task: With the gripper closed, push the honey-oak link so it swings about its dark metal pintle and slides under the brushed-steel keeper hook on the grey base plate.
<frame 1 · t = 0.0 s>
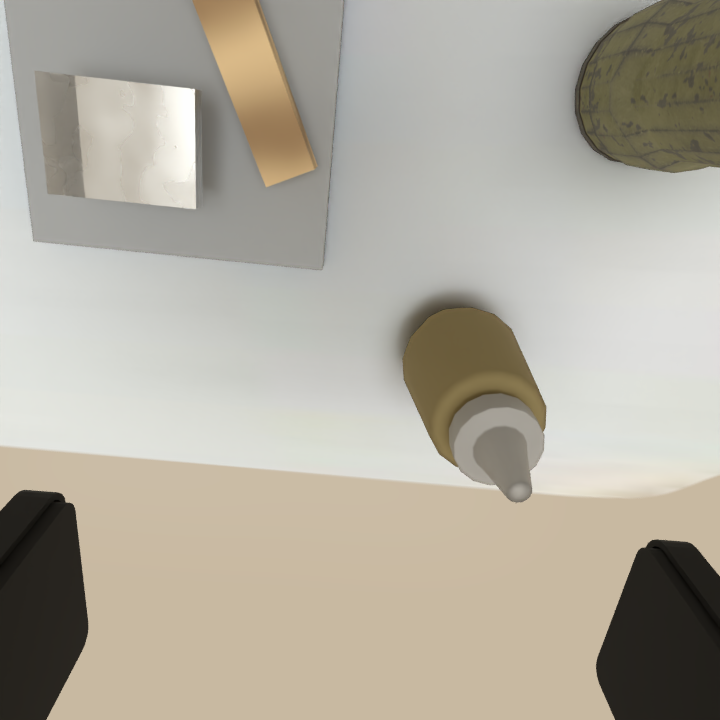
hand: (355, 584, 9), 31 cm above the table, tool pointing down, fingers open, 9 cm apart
keeper: (152, 140, 34), resting on base plate
olive green pillar: (641, 91, 35), on the table
squeeze bottle: (452, 343, 41), on the table
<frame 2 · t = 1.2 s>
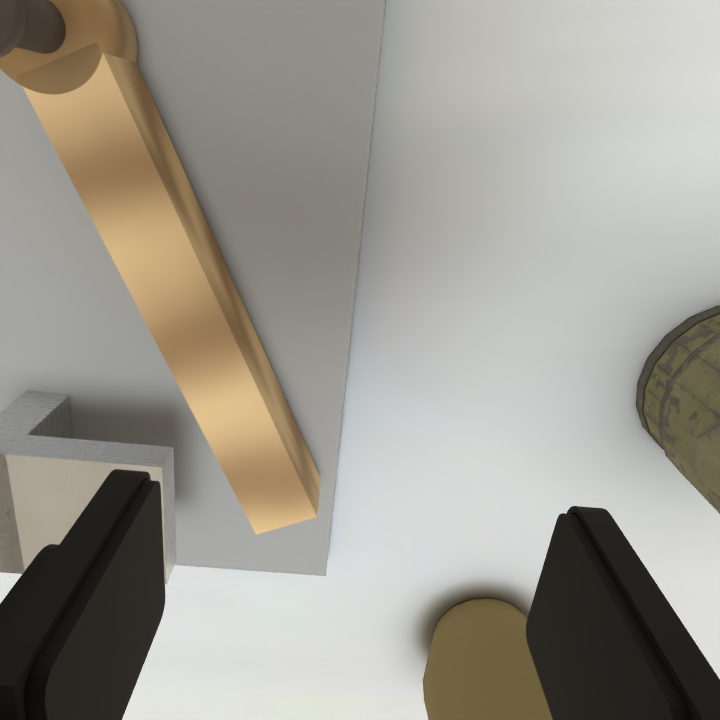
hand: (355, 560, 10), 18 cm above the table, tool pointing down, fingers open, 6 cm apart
keeper: (116, 451, 28), resting on base plate
olive green pillar: (717, 382, 28), on the table
base plate: (150, 291, 26), on the table
oak link: (169, 300, 21), point 5 cm above the table, hinge at 25.0°
squeeze bottle: (479, 628, 35), on the table
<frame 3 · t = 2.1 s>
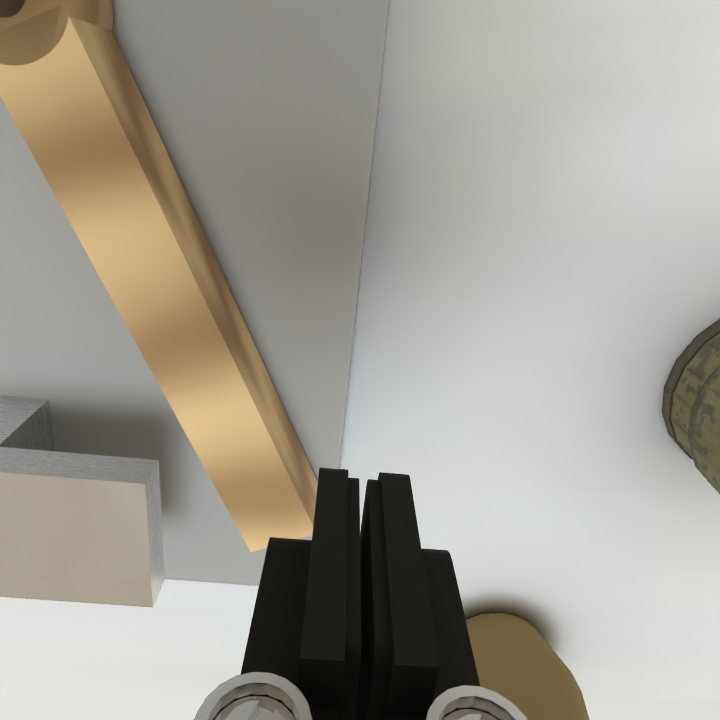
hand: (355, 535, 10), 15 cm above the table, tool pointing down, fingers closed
keeper: (100, 460, 26), resting on base plate
base plate: (135, 287, 24), on the table
oak link: (150, 300, 19), point 5 cm above the table, hinge at 25.0°
squeeze bottle: (488, 642, 33), on the table
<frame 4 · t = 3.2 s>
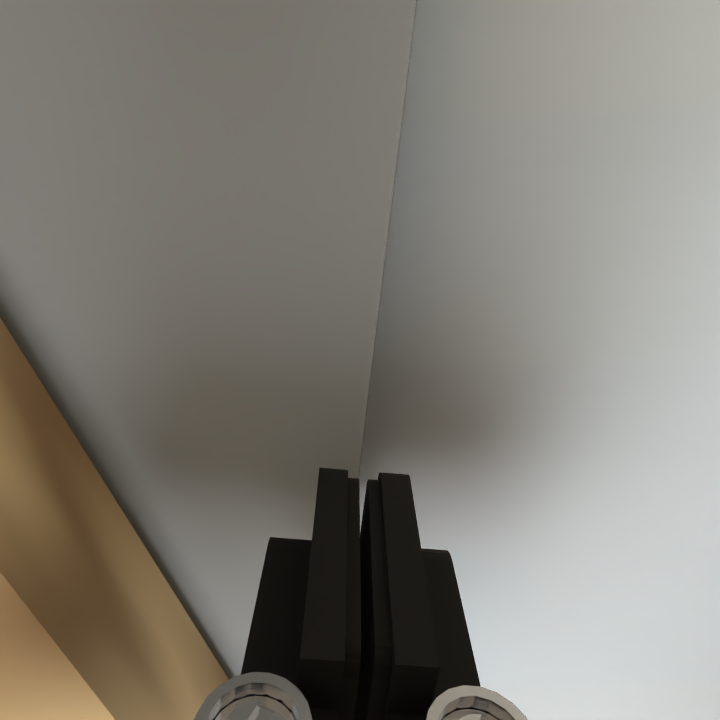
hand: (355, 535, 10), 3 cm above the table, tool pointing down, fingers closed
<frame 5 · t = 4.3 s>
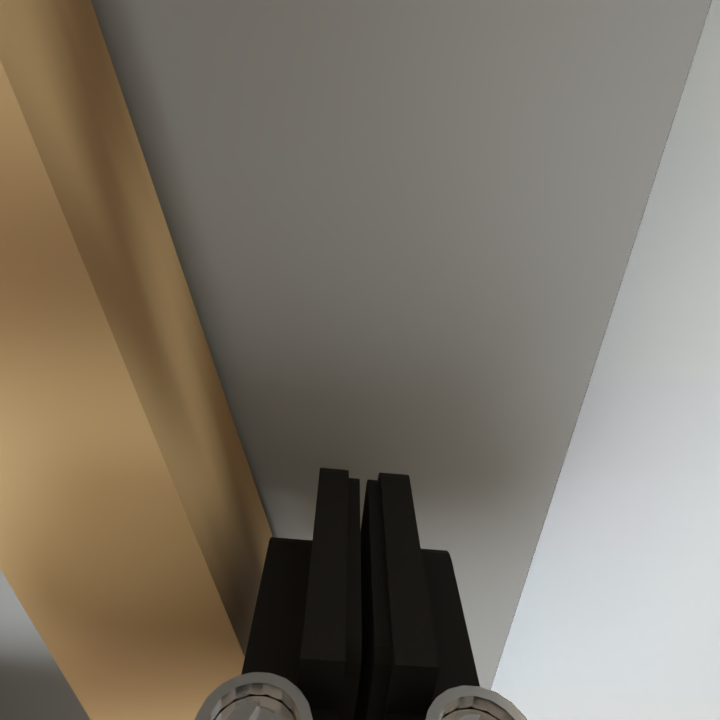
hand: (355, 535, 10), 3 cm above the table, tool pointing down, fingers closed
base plate: (125, 450, 13), on the table
oak link: (93, 608, 8), point 5 cm above the table, hinge at 19.0°, touching gripper
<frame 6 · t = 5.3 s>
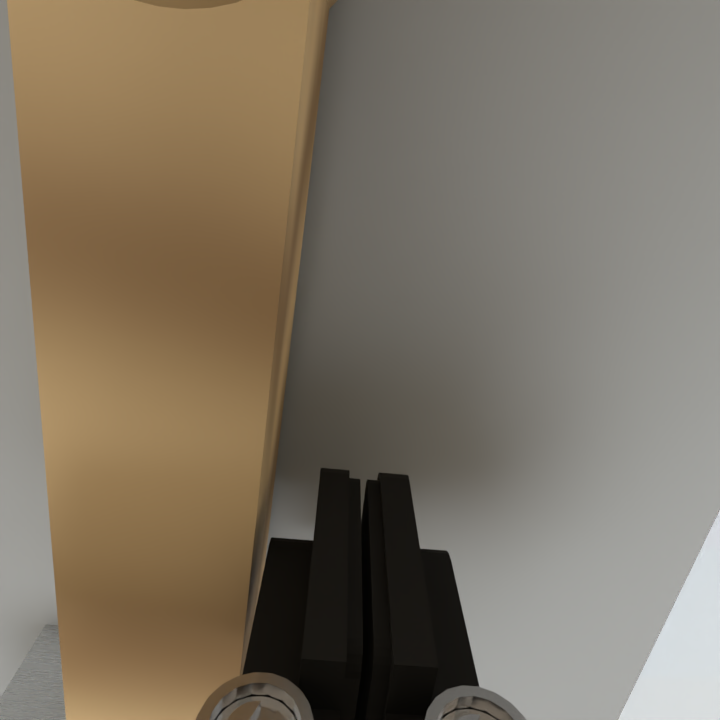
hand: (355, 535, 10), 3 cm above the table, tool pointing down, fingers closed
keeper: (207, 718, 15), resting on base plate
base plate: (294, 442, 13), on the table
oak link: (139, 597, 8), point 5 cm above the table, hinge at -1.4°, touching gripper, keeper
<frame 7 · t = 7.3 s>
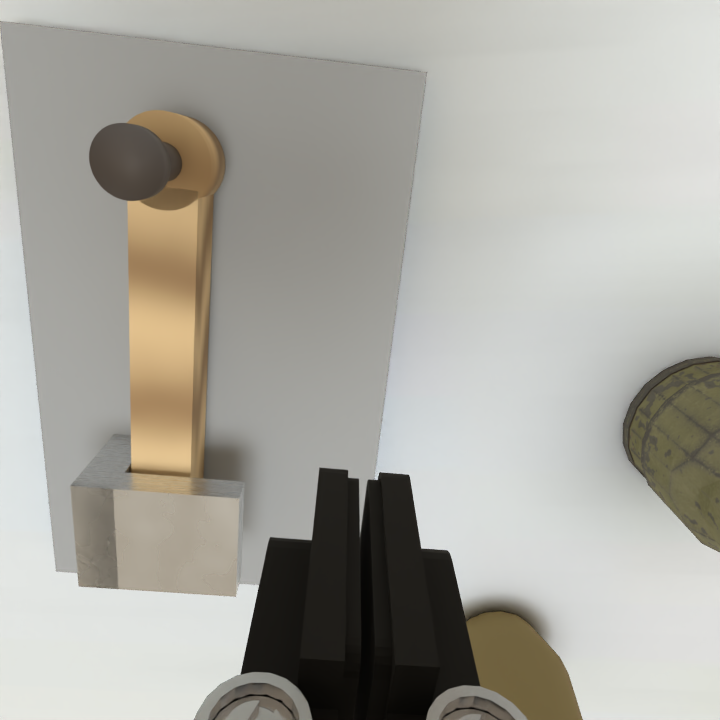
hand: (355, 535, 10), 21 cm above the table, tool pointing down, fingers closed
keeper: (185, 484, 33), resting on base plate
olive green pillar: (690, 422, 34), on the table
base plate: (219, 350, 31), on the table
oak link: (158, 374, 26), point 5 cm above the table, hinge at -1.3°
squeeze bottle: (491, 638, 39), on the table
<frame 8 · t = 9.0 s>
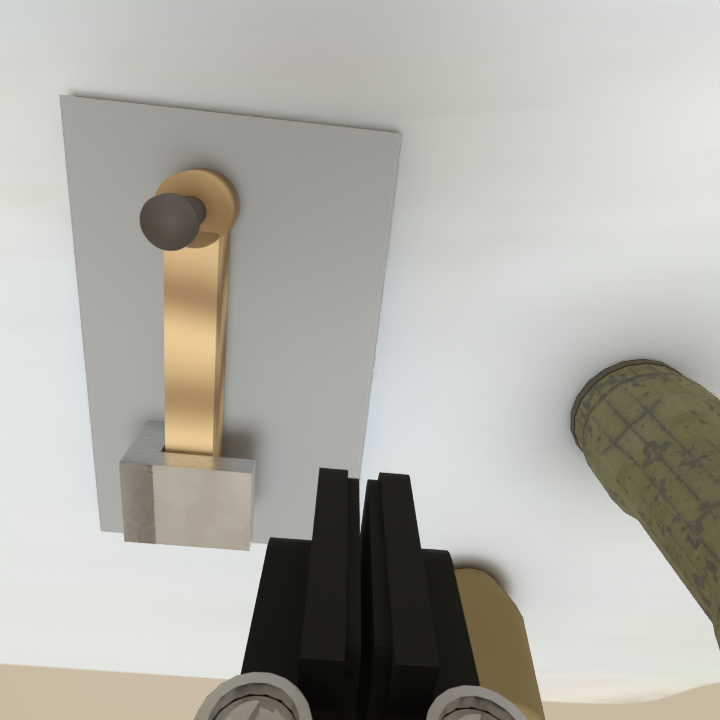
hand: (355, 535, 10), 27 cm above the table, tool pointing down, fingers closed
keeper: (207, 461, 40), resting on base plate
olive green pillar: (627, 412, 40), on the table
base plate: (234, 352, 38), on the table
oak link: (187, 375, 33), point 5 cm above the table, hinge at -1.3°
squeeze bottle: (462, 591, 47), on the table
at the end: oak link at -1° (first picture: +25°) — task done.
